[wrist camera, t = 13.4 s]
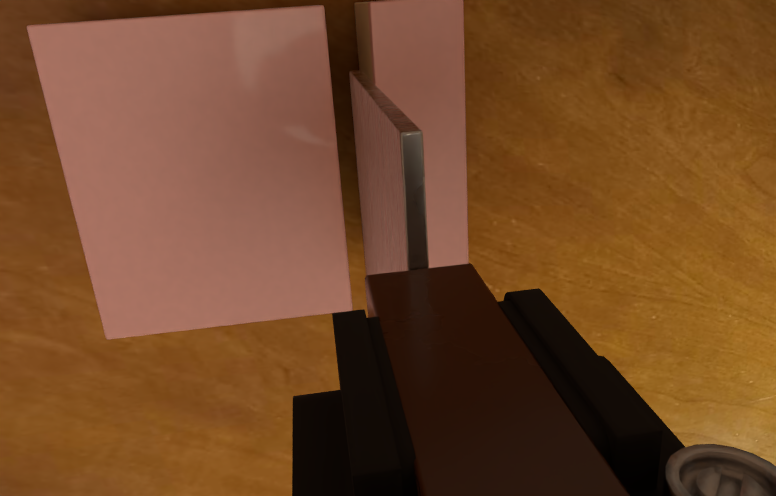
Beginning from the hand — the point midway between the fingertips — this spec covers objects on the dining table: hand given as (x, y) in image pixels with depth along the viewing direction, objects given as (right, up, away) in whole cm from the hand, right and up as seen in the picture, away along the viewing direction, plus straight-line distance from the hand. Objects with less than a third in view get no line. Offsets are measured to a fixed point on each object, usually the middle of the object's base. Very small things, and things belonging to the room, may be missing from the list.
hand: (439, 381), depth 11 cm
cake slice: (0, +8, +20) cm, 22 cm away
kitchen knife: (-2, +4, +12) cm, 13 cm away
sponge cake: (-9, +7, +19) cm, 22 cm away
